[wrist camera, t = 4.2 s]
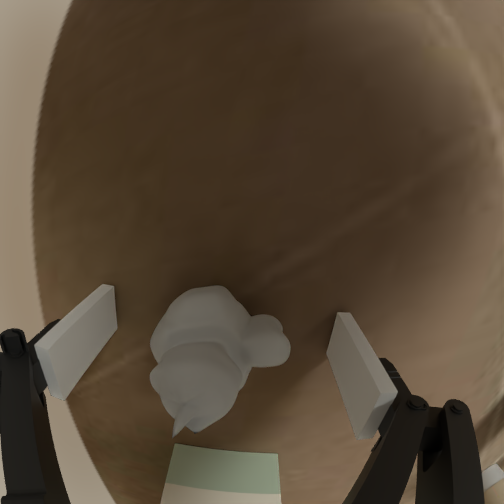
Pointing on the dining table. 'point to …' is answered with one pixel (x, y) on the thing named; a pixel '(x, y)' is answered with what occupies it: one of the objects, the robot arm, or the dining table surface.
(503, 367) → the dining table surface
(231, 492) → the cream and green box
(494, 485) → the coffee cup
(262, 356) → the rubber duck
